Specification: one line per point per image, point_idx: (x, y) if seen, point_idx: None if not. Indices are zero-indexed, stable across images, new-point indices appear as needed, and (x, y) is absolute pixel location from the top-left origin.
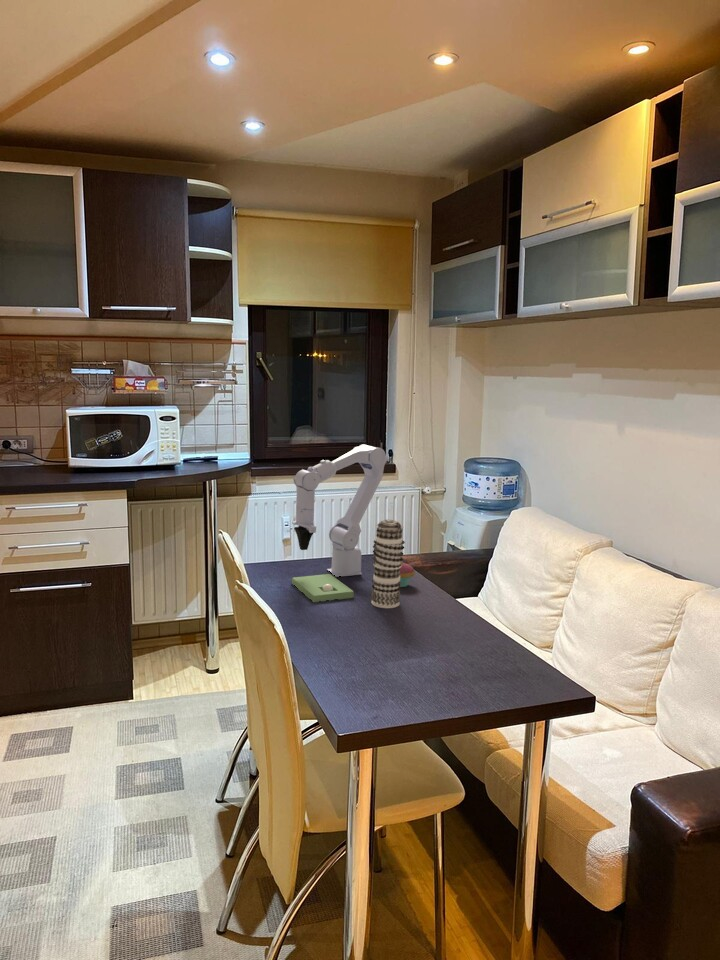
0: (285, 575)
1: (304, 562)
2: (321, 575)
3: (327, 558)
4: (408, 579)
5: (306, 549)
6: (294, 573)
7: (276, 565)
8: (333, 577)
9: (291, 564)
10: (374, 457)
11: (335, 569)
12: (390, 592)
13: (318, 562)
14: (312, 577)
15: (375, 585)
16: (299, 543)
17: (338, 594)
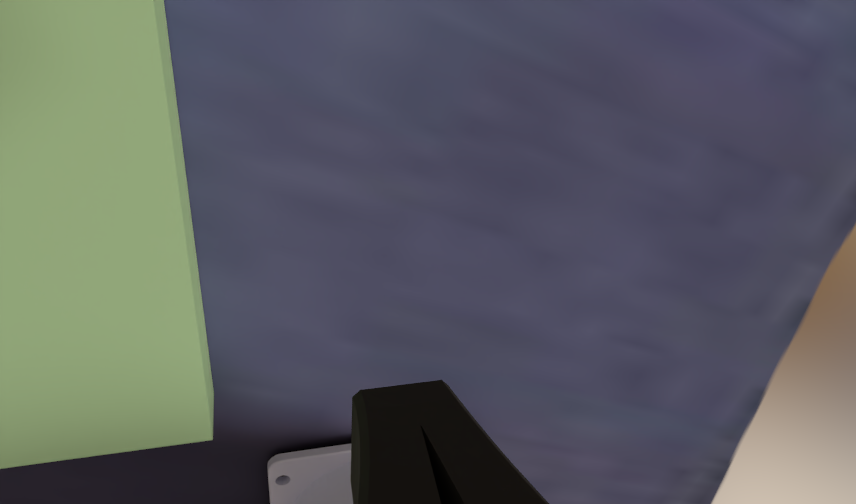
0: (516, 16)
1: (749, 318)
2: (174, 360)
3: (721, 472)
4: None
5: (352, 476)
6: (534, 142)
7: (847, 54)
8: (69, 449)
9: (776, 204)
10: None
11: (343, 499)
12: None
13: (685, 407)
14: (108, 251)
15: None
16: (458, 474)
17: None
